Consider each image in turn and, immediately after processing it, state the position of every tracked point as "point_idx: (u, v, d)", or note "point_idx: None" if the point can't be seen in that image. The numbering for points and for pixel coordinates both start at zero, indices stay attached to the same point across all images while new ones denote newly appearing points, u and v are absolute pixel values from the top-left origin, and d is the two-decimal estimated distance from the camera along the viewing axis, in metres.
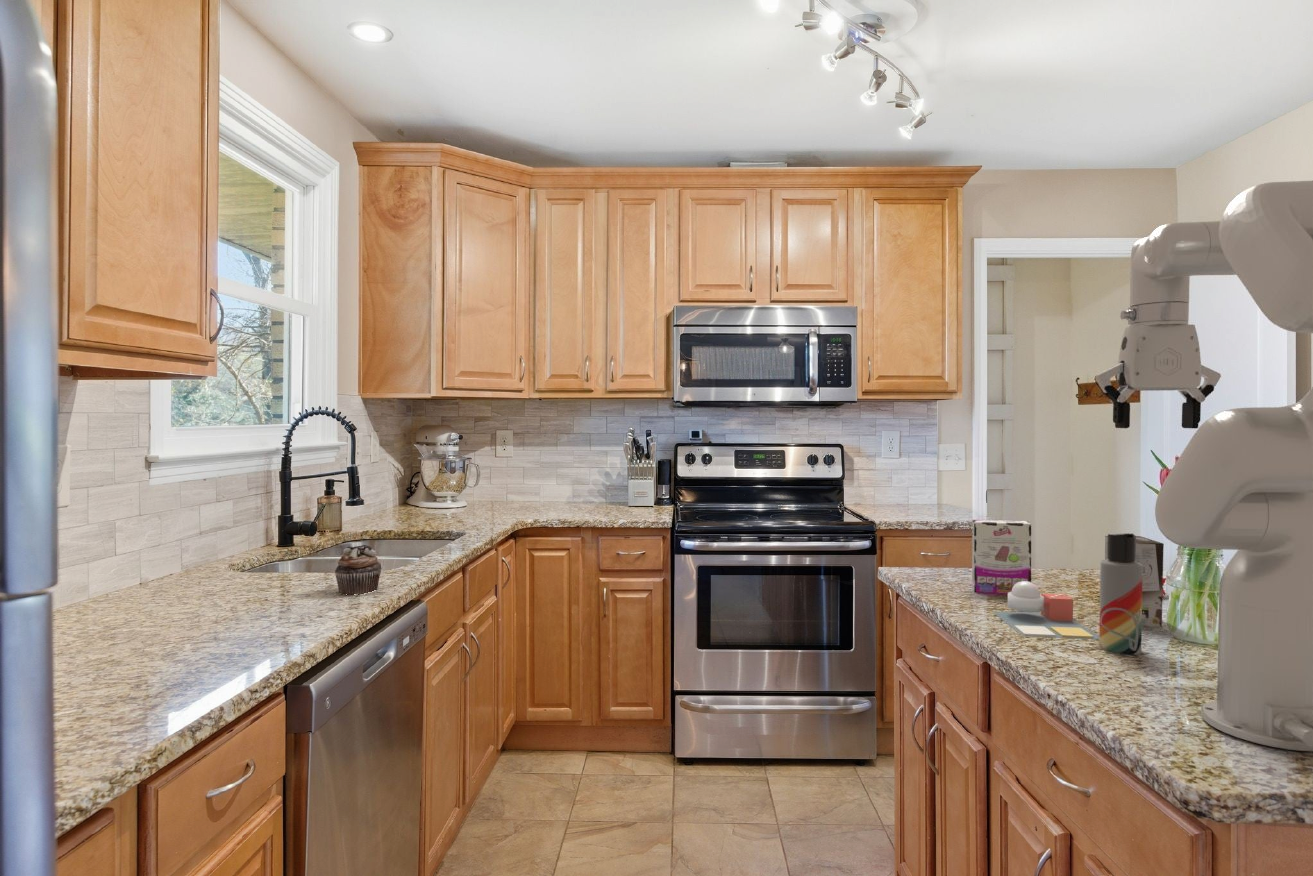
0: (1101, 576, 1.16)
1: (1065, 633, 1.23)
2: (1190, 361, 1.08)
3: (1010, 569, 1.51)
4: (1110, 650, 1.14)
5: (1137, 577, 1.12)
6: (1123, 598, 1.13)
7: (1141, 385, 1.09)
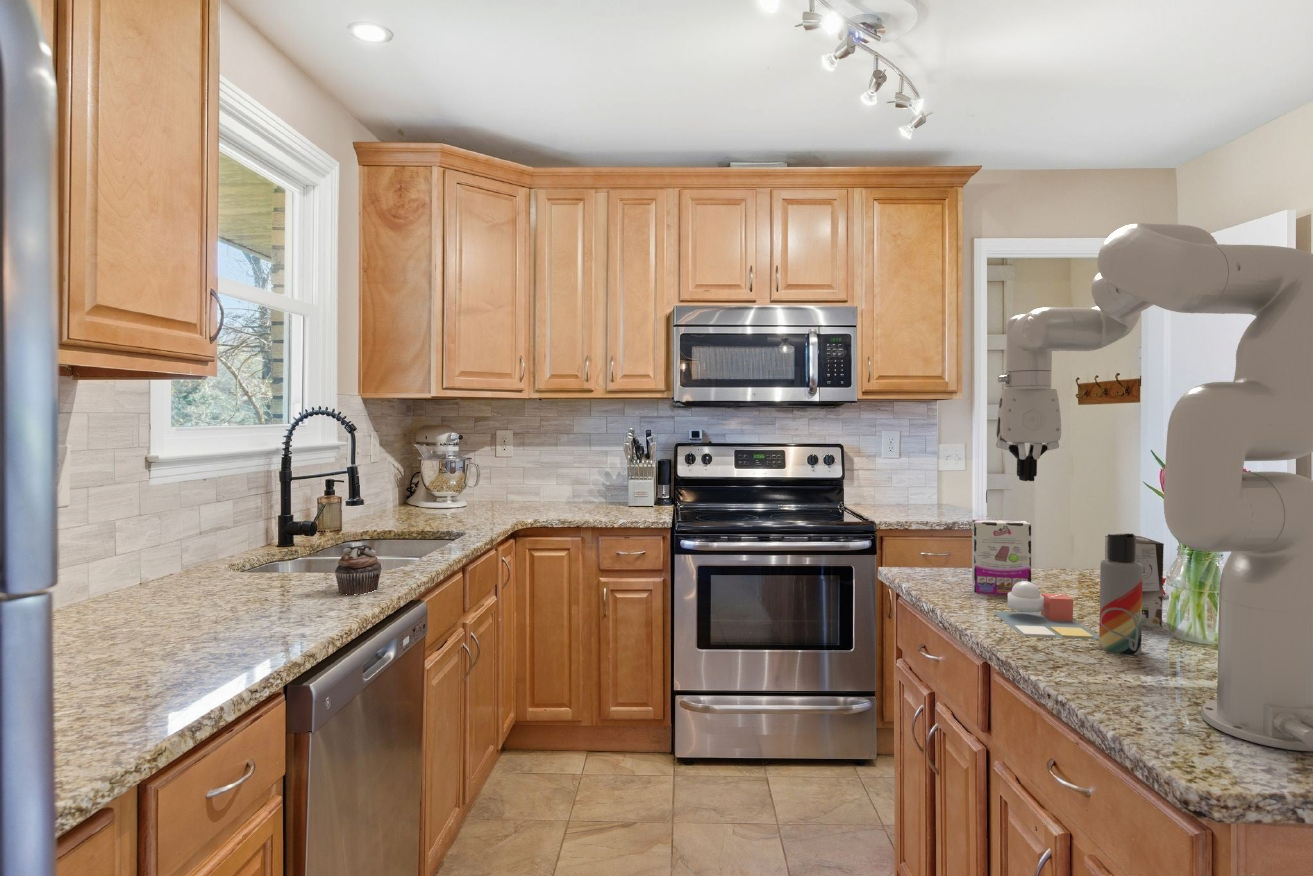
0: (1101, 576, 1.16)
1: (1065, 633, 1.23)
2: (1052, 419, 1.30)
3: (1010, 569, 1.51)
4: (1110, 650, 1.14)
5: (1137, 577, 1.12)
6: (1123, 598, 1.13)
7: (1012, 439, 1.31)
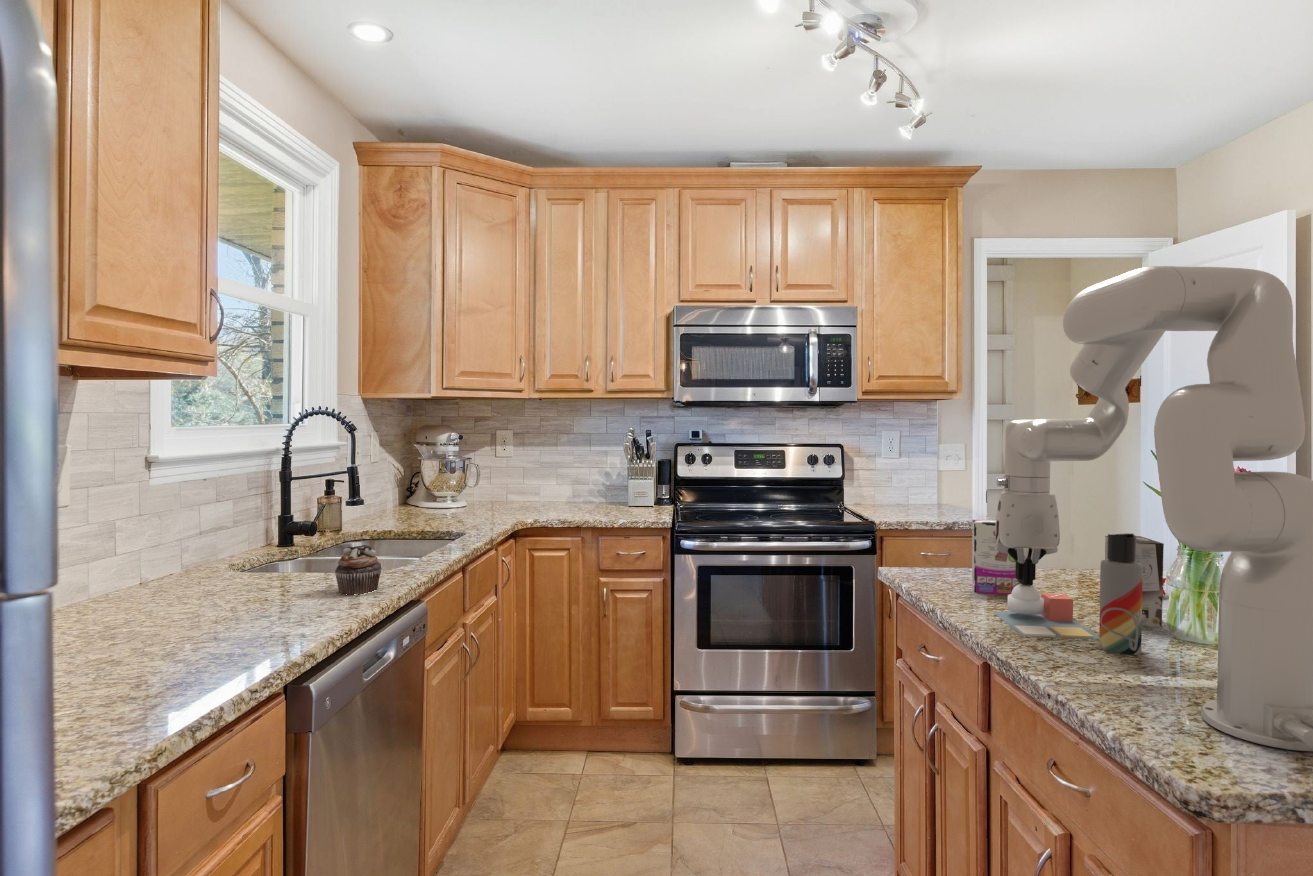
0: (1101, 576, 1.16)
1: (1065, 633, 1.23)
2: (1050, 525, 1.31)
3: (1010, 569, 1.51)
4: (1110, 650, 1.14)
5: (1137, 577, 1.12)
6: (1123, 598, 1.13)
7: (1011, 544, 1.32)
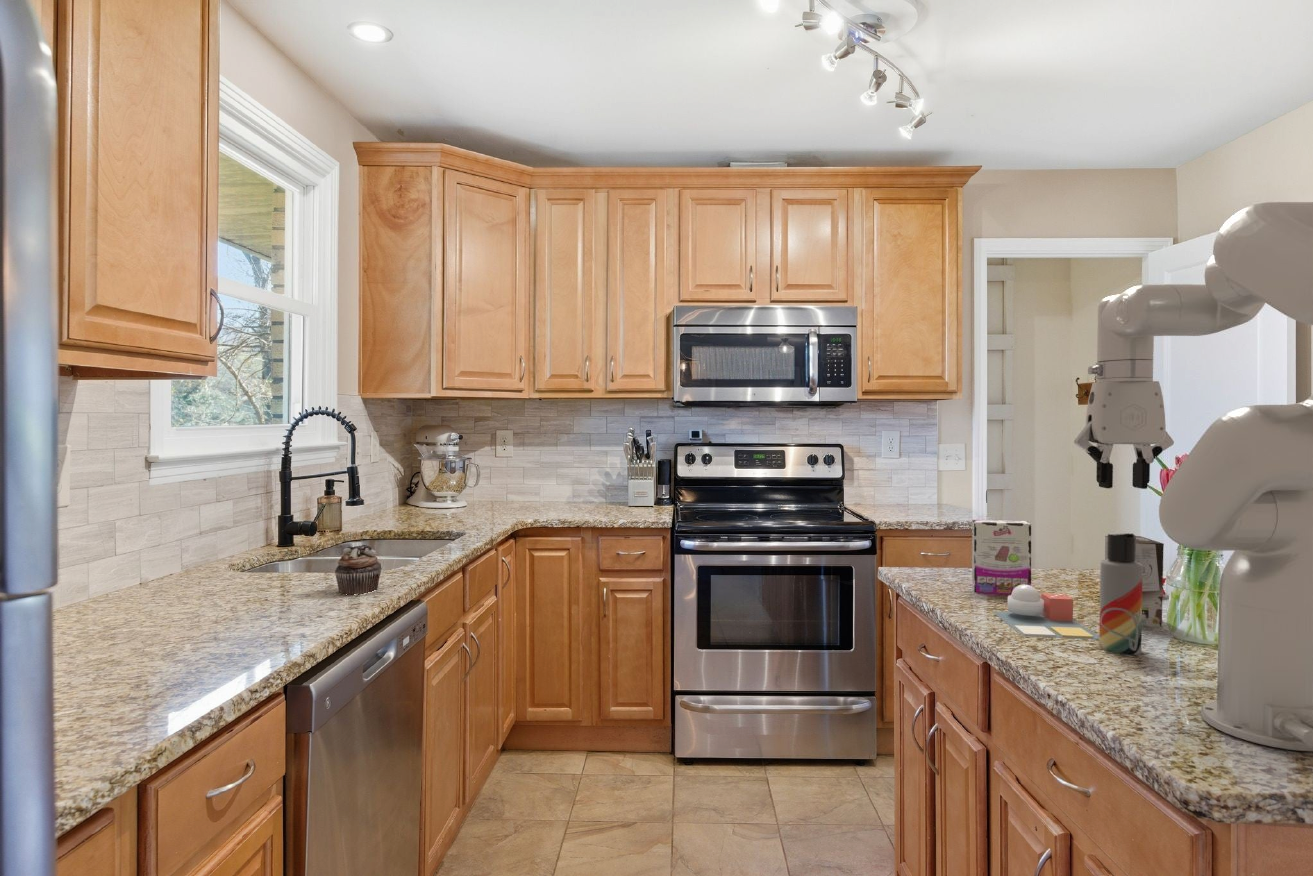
0: (1101, 576, 1.16)
1: (1065, 633, 1.23)
2: (1155, 417, 1.11)
3: (1010, 569, 1.51)
4: (1110, 650, 1.14)
5: (1137, 577, 1.12)
6: (1123, 598, 1.13)
7: (1108, 440, 1.12)
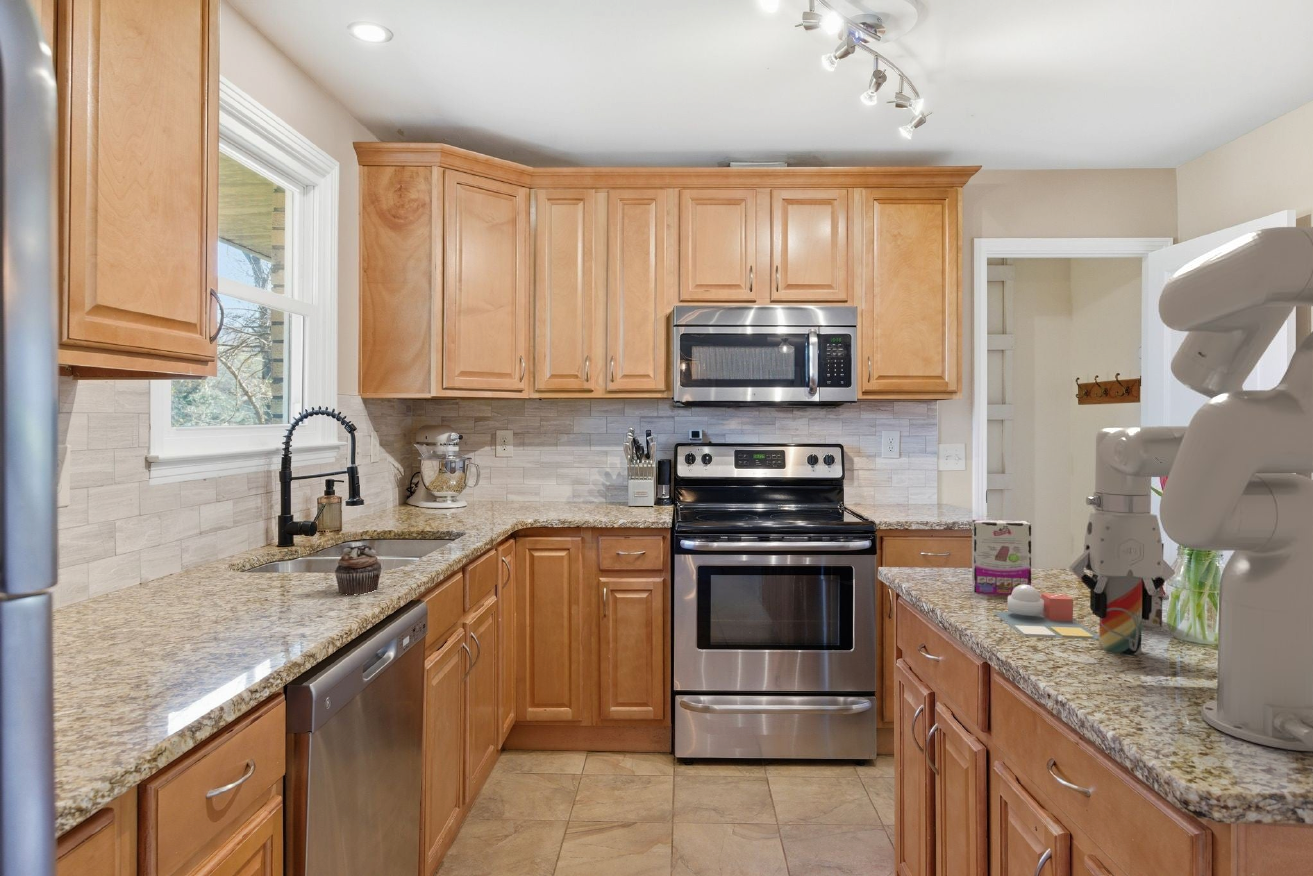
0: None
1: (1065, 633, 1.23)
2: (1152, 551, 1.12)
3: (1010, 569, 1.51)
4: (1110, 650, 1.14)
5: (1137, 577, 1.12)
6: (1123, 598, 1.13)
7: (1105, 573, 1.13)
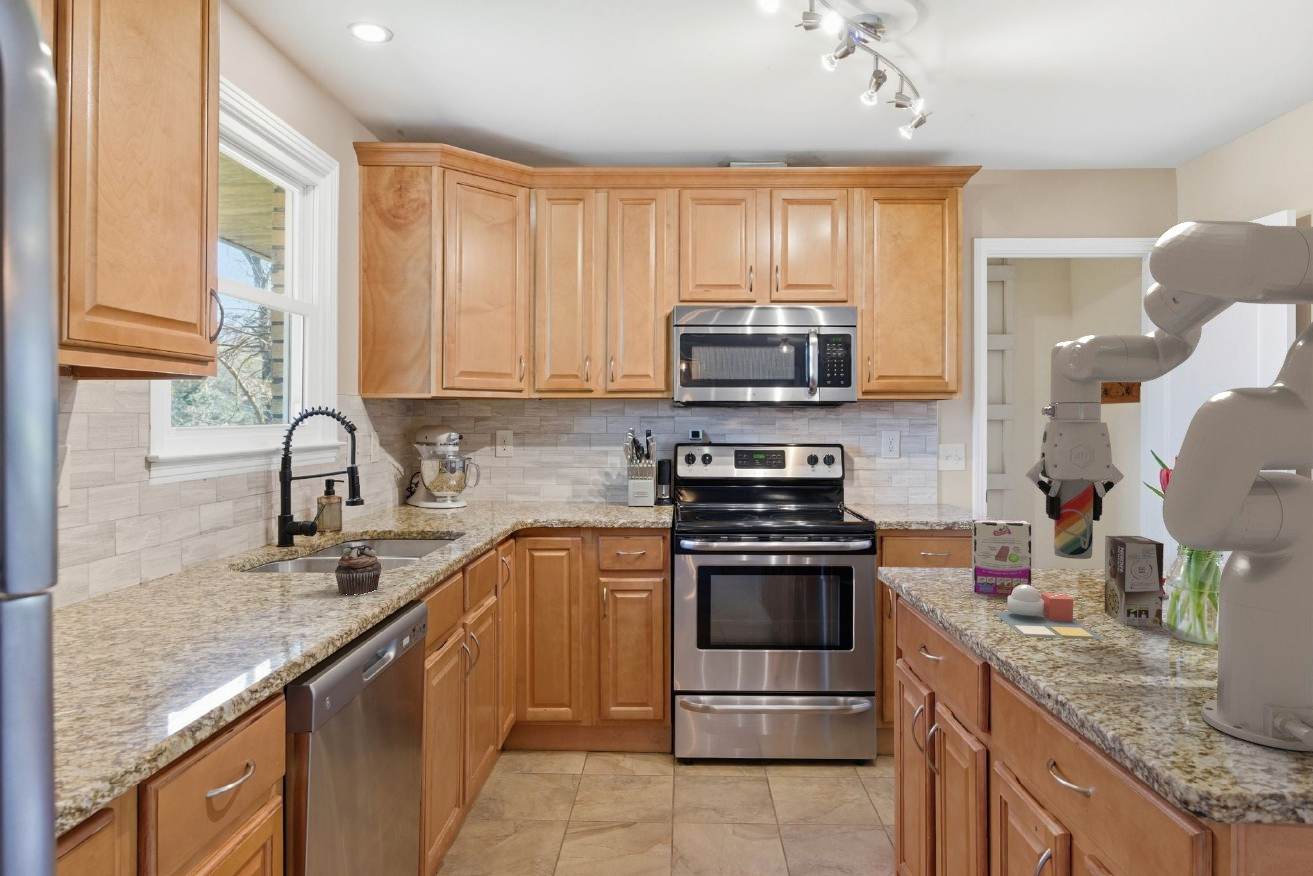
0: None
1: (1065, 633, 1.23)
2: (1102, 455, 1.20)
3: (1010, 569, 1.51)
4: (1063, 549, 1.22)
5: (1088, 480, 1.20)
6: (1075, 499, 1.21)
7: (1059, 476, 1.21)
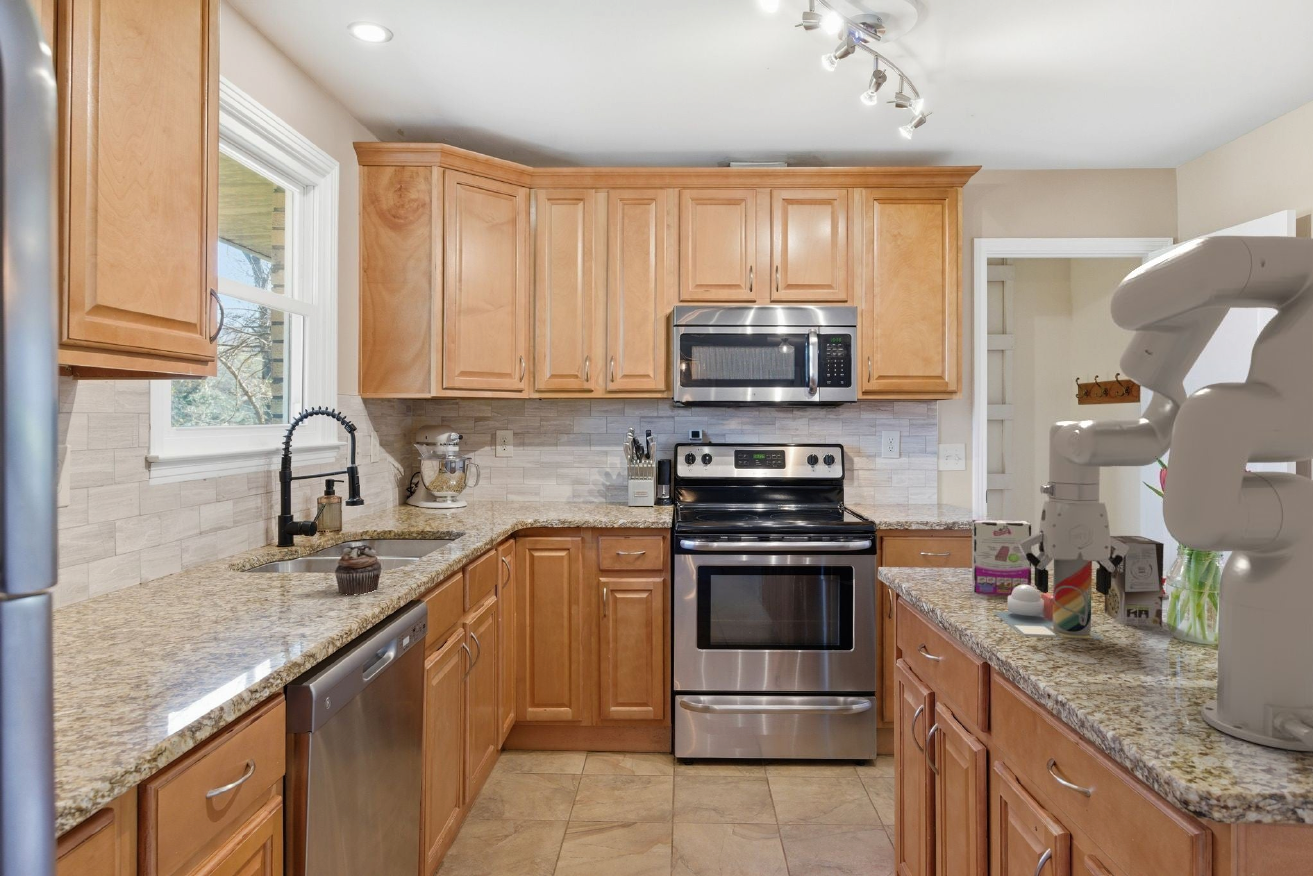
0: None
1: None
2: (1100, 536, 1.20)
3: (1010, 569, 1.51)
4: (1062, 625, 1.22)
5: None
6: (1073, 577, 1.21)
7: (1057, 556, 1.21)
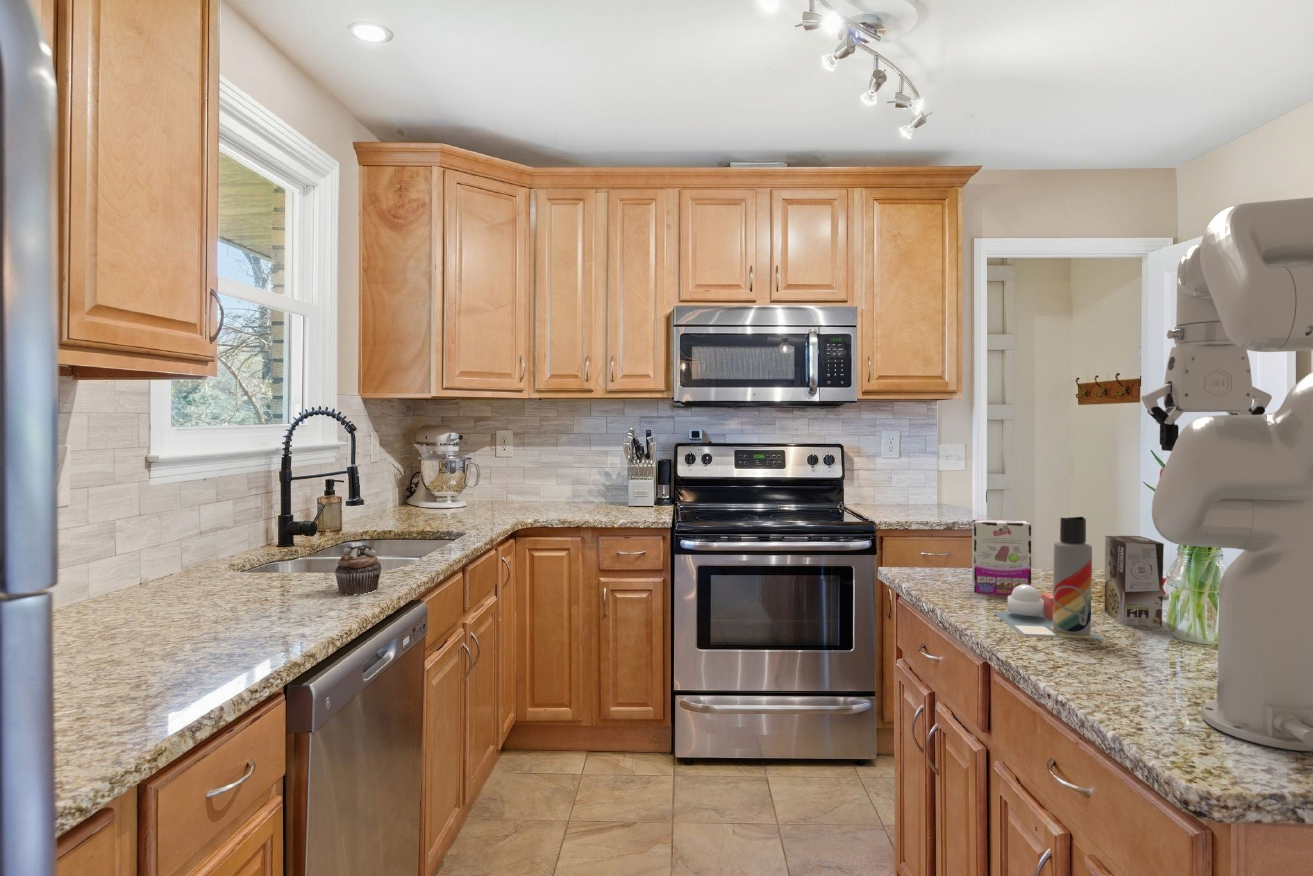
0: (1054, 557, 1.24)
1: None
2: (1241, 382, 1.05)
3: (1010, 569, 1.51)
4: (1062, 625, 1.22)
5: (1086, 557, 1.21)
6: (1073, 576, 1.21)
7: (1190, 407, 1.06)
